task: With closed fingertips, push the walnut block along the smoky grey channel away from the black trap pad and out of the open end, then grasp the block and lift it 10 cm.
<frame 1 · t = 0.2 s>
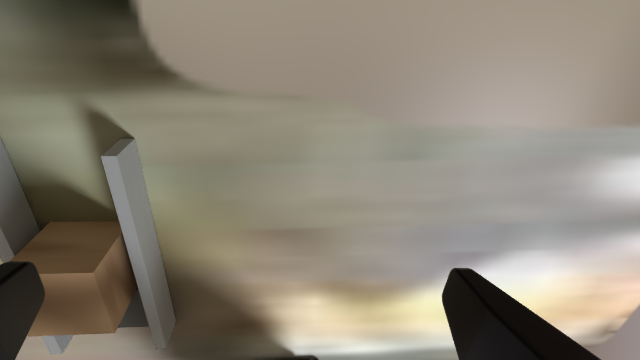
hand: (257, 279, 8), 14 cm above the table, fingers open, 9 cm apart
block: (100, 249, 24), on the table
channel: (97, 245, 24), on the table
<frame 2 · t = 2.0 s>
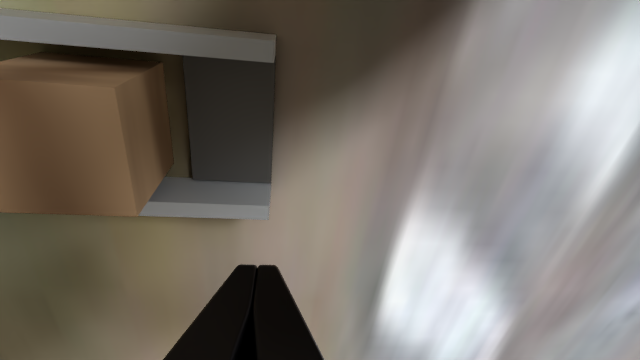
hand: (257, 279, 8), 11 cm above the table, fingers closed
block: (114, 111, 16), on the table
channel: (101, 111, 16), on the table
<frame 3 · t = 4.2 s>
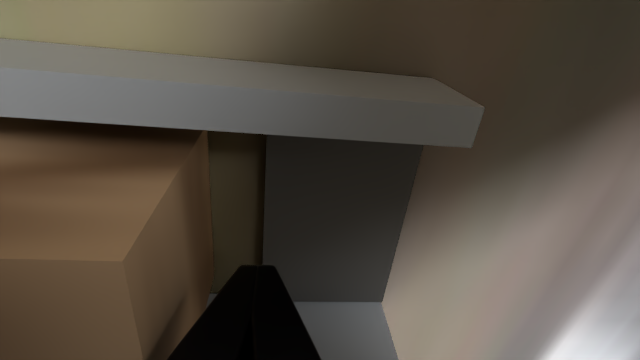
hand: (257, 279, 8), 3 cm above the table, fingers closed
block: (116, 204, 9), on the table, touching gripper
channel: (116, 205, 9), on the table
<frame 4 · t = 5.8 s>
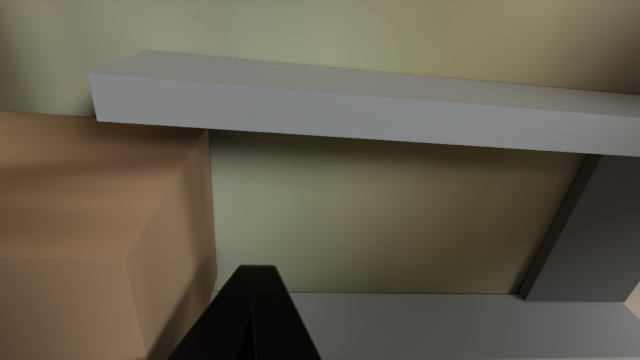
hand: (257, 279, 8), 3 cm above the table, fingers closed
block: (119, 204, 9), on the table, touching gripper
channel: (436, 216, 11), on the table
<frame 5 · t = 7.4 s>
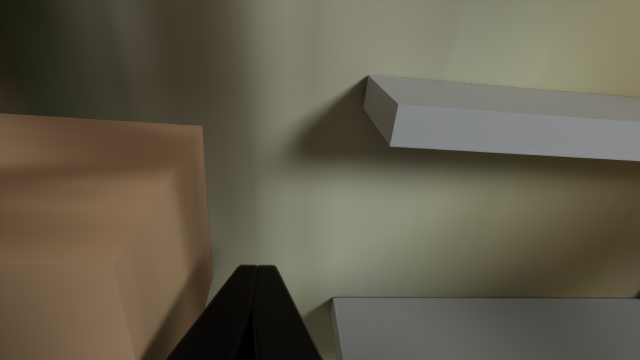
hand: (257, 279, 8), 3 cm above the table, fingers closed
block: (113, 207, 9), on the table, touching gripper
channel: (588, 224, 11), on the table
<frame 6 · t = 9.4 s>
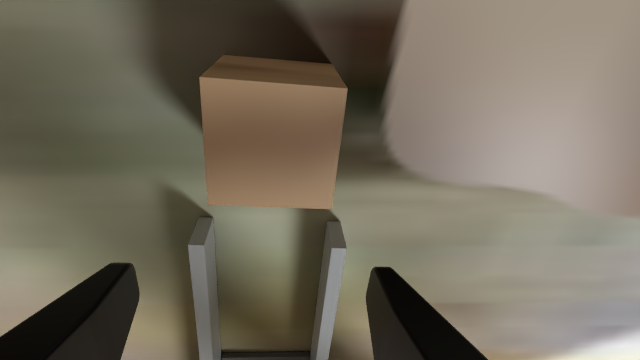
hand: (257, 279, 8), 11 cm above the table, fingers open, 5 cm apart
block: (276, 111, 17), on the table
channel: (267, 314, 24), on the table
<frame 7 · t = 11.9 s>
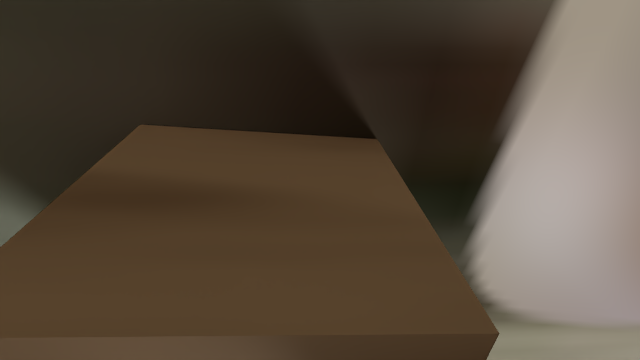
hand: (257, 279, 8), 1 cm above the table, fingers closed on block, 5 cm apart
block: (261, 227, 8), on the table, touching gripper
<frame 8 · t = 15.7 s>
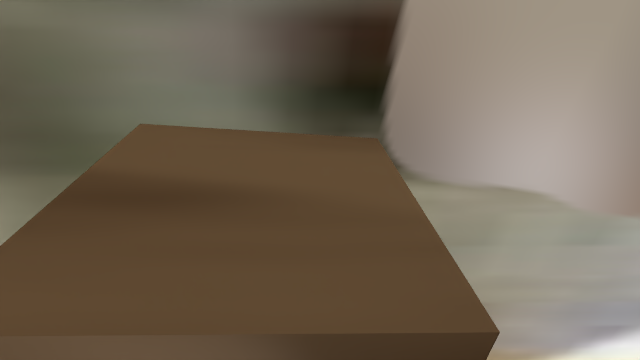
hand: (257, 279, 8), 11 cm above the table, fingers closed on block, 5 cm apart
block: (261, 227, 8), point 10 cm above the table, touching gripper
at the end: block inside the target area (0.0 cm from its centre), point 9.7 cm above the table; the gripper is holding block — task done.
